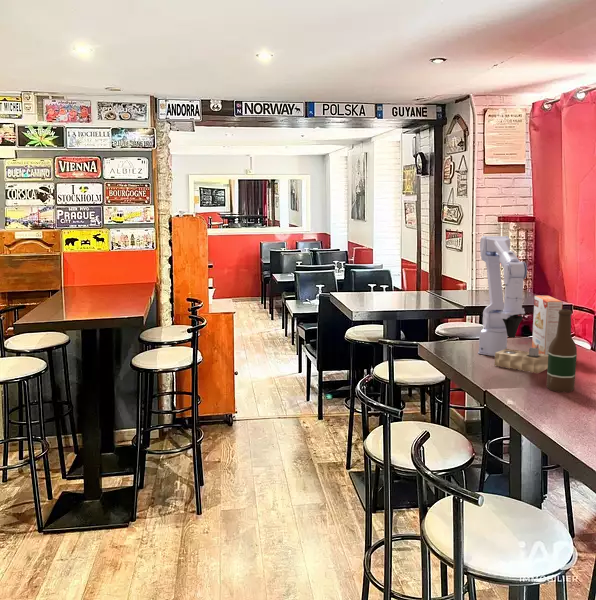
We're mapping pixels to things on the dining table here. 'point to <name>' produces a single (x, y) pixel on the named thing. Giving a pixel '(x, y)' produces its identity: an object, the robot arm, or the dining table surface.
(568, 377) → the beer bottle
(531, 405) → the dining table surface
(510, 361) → the socket block
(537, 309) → the cracker box
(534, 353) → the peg
